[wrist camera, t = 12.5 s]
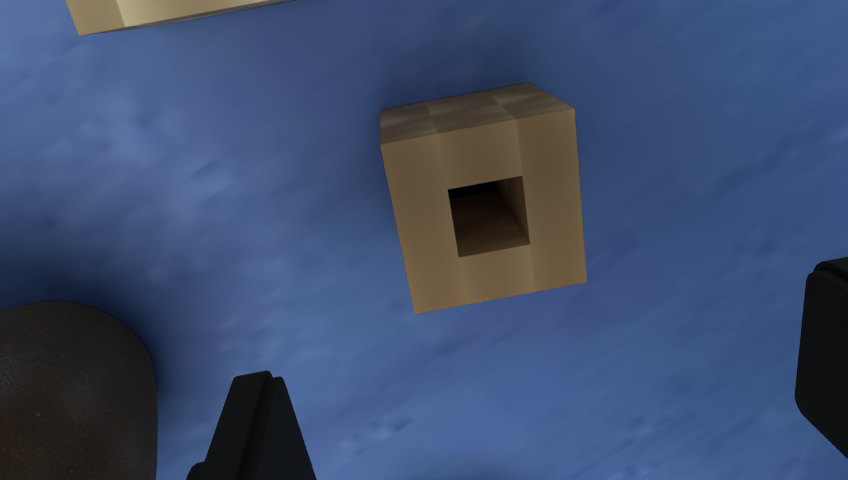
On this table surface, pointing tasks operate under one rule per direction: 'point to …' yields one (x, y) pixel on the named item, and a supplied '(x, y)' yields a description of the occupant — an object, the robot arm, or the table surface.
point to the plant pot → (74, 396)
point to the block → (485, 195)
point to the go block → (149, 12)
